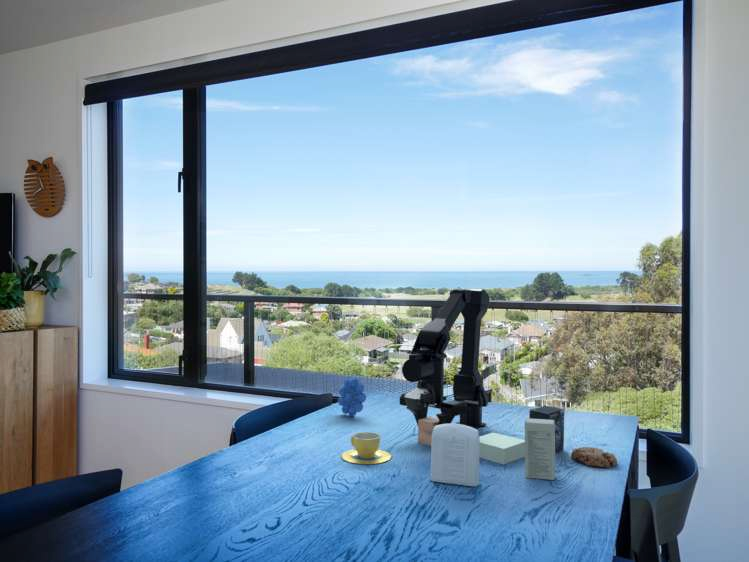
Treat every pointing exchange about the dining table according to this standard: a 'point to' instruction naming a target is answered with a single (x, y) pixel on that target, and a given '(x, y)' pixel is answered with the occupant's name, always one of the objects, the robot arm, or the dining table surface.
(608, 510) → the dining table surface
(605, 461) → the cookie
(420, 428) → the terracotta block
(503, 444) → the sage base block
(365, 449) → the cup
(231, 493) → the dining table surface
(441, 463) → the white gravestone
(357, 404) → the grapes
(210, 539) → the dining table surface
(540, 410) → the box
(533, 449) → the skincare box
